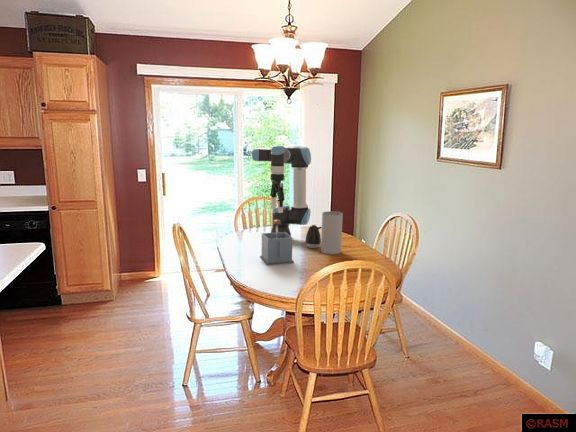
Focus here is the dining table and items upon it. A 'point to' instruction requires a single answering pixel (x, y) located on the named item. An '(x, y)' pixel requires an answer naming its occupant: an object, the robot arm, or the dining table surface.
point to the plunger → (276, 222)
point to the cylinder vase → (331, 232)
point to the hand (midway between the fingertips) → (276, 210)
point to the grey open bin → (276, 248)
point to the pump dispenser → (313, 237)
